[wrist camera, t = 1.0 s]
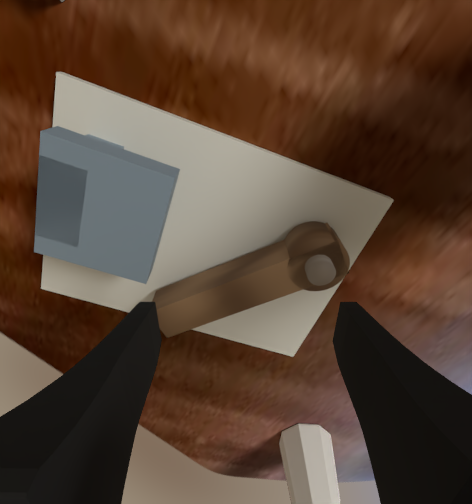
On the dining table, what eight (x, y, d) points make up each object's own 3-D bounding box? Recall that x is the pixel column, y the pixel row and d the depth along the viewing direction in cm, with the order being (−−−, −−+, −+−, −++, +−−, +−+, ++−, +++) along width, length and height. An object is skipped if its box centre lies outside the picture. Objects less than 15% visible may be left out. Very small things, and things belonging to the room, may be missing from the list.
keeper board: (389, 196, 20) (438, 237, 15) (292, 351, 27) (303, 413, 22) (62, 71, 17) (-11, 72, 12) (45, 283, 24) (-5, 339, 19)
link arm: (329, 212, 19) (344, 236, 17) (345, 258, 21) (361, 286, 18) (151, 284, 22) (139, 314, 19) (177, 319, 24) (169, 352, 21)
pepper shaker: (268, 444, 34) (280, 592, 24) (295, 416, 31) (320, 568, 22) (311, 457, 35) (339, 603, 25) (341, 431, 32) (383, 582, 23)
